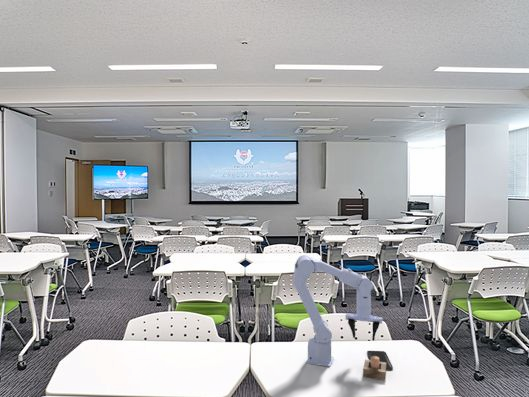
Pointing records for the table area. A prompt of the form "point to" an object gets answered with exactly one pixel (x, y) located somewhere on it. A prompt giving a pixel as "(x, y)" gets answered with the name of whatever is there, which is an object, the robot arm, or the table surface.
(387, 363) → the phone
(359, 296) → the robot arm
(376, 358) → the peg
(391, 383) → the table surface
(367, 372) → the socket block
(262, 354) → the table surface
